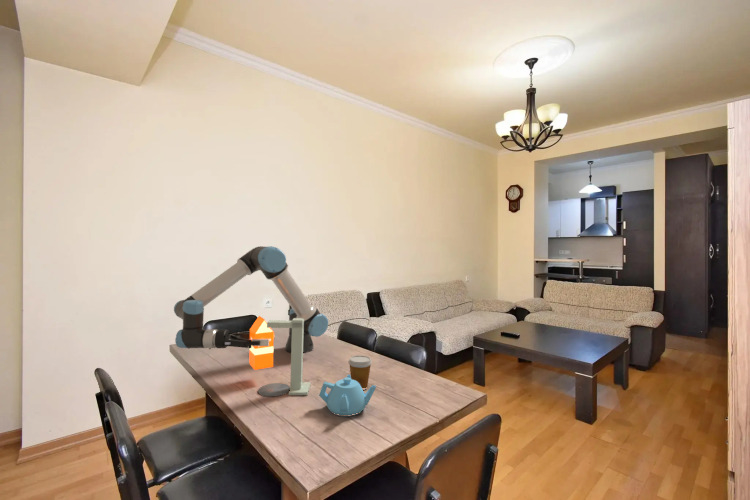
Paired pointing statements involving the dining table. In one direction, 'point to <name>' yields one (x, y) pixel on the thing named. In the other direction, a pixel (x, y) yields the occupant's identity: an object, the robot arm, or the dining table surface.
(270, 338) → the orange juice
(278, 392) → the seat pad
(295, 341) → the stand
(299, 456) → the dining table surface
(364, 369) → the disposable coffee cup
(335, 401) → the teapot
